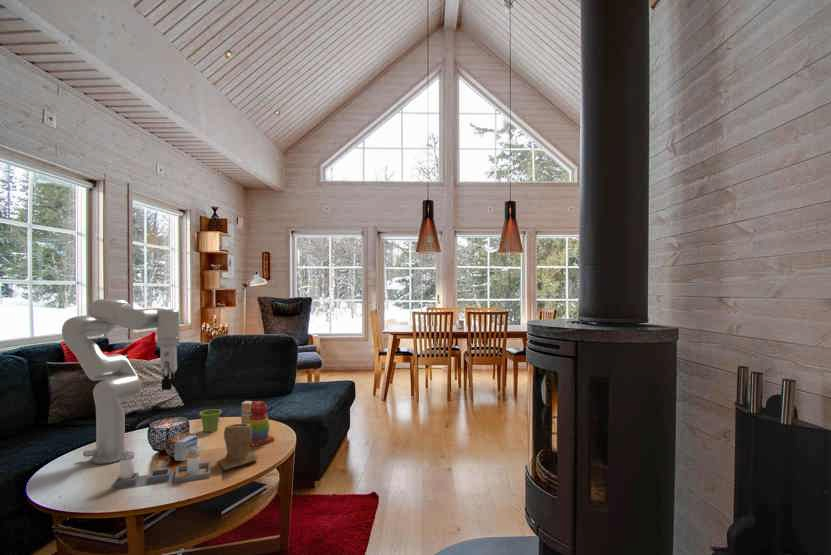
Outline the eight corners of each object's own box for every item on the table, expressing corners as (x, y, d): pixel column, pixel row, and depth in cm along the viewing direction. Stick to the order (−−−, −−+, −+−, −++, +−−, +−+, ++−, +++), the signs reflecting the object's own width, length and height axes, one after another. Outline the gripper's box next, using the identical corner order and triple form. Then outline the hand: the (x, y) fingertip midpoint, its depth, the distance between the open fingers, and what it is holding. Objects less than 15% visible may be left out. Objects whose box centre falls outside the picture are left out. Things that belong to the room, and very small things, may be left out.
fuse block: (110, 495, 156) (110, 484, 156) (116, 483, 165) (116, 473, 165) (171, 486, 162) (171, 476, 162) (174, 475, 172) (174, 465, 172)
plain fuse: (119, 486, 159) (119, 456, 159) (121, 481, 163) (121, 452, 163) (132, 484, 161) (132, 454, 161) (134, 479, 164) (134, 450, 164)
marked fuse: (186, 479, 167) (186, 451, 167) (187, 475, 171) (187, 447, 171) (199, 477, 168) (199, 449, 168) (199, 473, 172) (199, 445, 172)
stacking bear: (276, 440, 210) (276, 399, 210) (260, 447, 201) (260, 405, 201) (257, 436, 214) (257, 397, 214) (240, 443, 205) (240, 402, 205)
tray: (174, 486, 162) (174, 478, 162) (177, 474, 172) (177, 466, 172) (209, 481, 166) (209, 472, 166) (210, 469, 177) (210, 461, 177)
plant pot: (225, 430, 224) (225, 411, 224) (205, 435, 216) (205, 416, 216) (214, 426, 230) (214, 408, 230) (195, 431, 222) (195, 412, 222)
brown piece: (245, 454, 192) (245, 417, 192) (261, 462, 184) (262, 423, 184) (209, 466, 180) (209, 426, 180) (224, 474, 173) (225, 433, 173)
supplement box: (240, 430, 223) (240, 403, 223) (246, 427, 227) (246, 400, 227) (257, 431, 221) (257, 403, 221) (262, 428, 226) (262, 401, 226)
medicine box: (184, 465, 181) (184, 442, 181) (174, 464, 182) (174, 441, 182) (197, 457, 189) (197, 435, 189) (187, 456, 190) (187, 435, 190)
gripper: (177, 344, 173) (177, 391, 173) (181, 338, 189) (180, 381, 189) (154, 345, 171) (153, 392, 170) (159, 339, 187) (159, 383, 186)
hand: (168, 386), depth 180 cm, fingers open, 9 cm apart
